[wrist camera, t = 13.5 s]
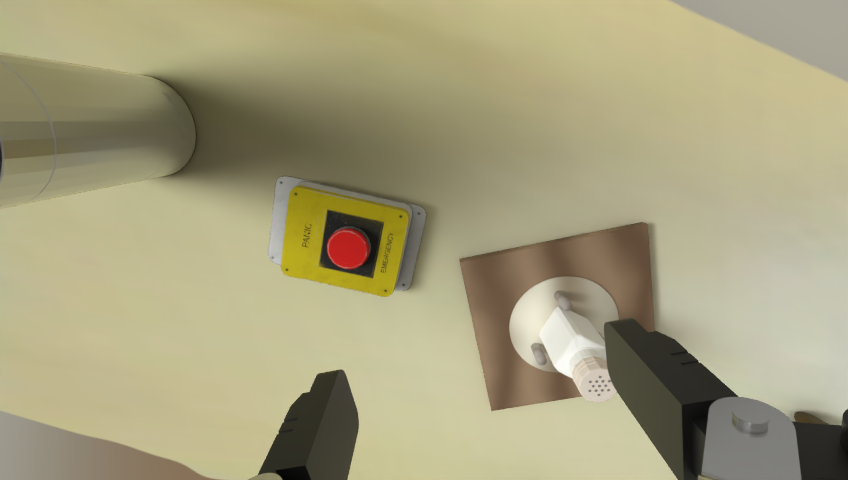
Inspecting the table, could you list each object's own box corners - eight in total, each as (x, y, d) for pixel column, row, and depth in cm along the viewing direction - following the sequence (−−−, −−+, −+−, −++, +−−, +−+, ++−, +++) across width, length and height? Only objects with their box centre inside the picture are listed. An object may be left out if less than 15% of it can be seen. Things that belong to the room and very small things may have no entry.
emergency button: (406, 309, 37) (250, 275, 37) (409, 290, 41) (269, 260, 41) (427, 217, 35) (259, 179, 34) (428, 206, 39) (279, 173, 38)
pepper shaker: (535, 333, 40) (564, 395, 31) (556, 302, 39) (591, 356, 30) (569, 349, 41) (606, 414, 32) (590, 318, 40) (635, 376, 31)
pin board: (490, 404, 45) (495, 429, 41) (459, 258, 40) (461, 272, 36) (653, 378, 43) (672, 401, 39) (642, 222, 38) (663, 232, 34)
